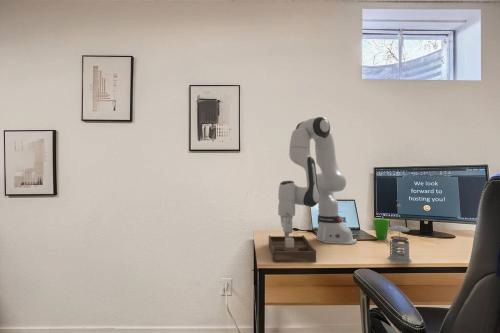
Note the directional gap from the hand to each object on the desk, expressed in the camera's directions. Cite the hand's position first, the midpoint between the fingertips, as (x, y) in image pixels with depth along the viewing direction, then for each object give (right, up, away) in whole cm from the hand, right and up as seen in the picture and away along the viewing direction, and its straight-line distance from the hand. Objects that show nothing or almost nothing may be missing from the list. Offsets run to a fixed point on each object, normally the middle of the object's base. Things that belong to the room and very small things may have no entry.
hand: (286, 238), depth 151 cm
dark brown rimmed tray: (+1, -5, -9) cm, 10 cm away
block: (+1, -2, -7) cm, 7 cm away
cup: (+58, -5, +18) cm, 61 cm away
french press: (+48, -5, -20) cm, 52 cm away
